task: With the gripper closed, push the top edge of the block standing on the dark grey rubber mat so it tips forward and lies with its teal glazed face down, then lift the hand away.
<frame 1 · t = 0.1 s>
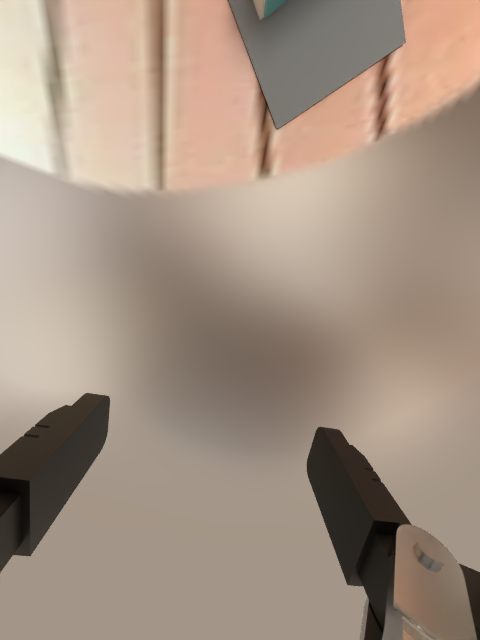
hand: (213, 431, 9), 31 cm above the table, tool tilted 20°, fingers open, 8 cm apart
mat: (312, 0, 23), on the table
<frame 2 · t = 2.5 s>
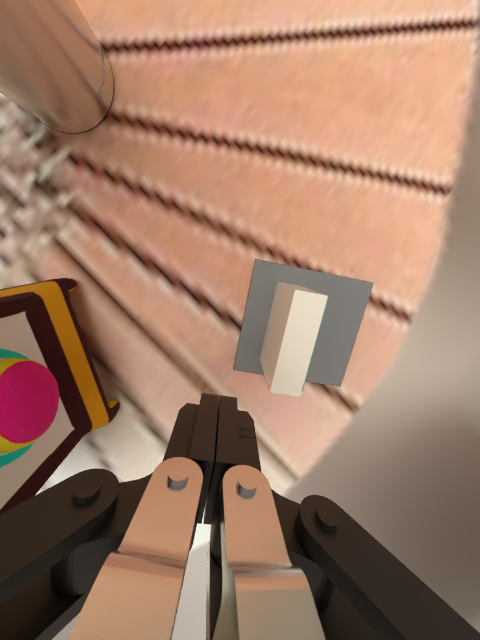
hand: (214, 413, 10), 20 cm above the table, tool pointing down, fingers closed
mat: (300, 326, 31), on the table
block: (279, 323, 30), resting on mat
decorative lantern: (35, 358, 31), on the table
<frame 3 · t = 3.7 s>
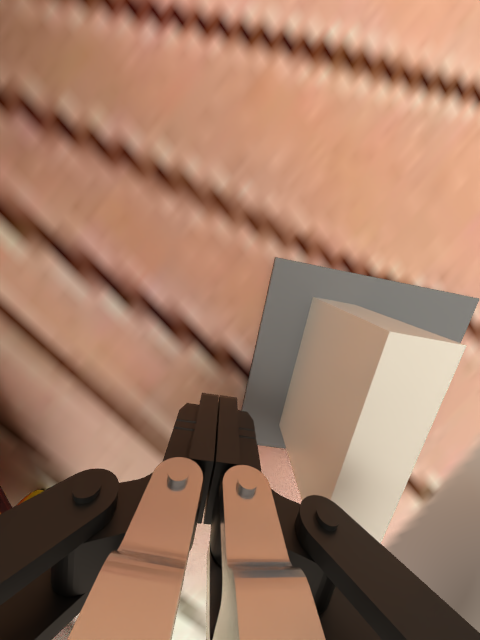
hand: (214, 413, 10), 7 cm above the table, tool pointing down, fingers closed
mat: (348, 371, 18), on the table
block: (314, 368, 18), resting on mat
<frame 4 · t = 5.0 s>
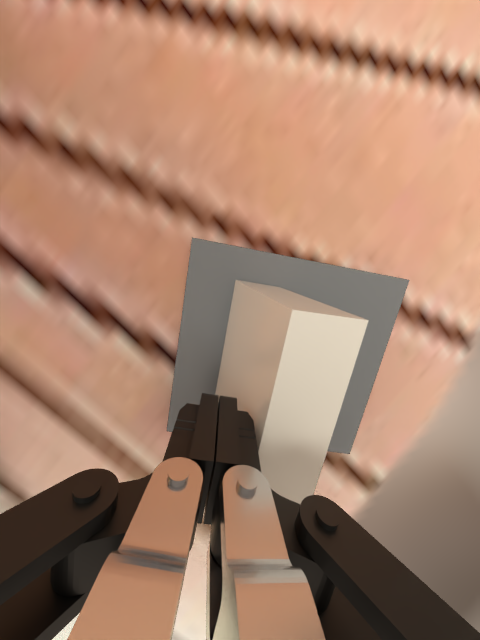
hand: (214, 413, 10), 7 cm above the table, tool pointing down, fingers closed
mat: (279, 357, 18), on the table
block: (243, 355, 17), point 1 cm above the table, tilted 12°, touching mat
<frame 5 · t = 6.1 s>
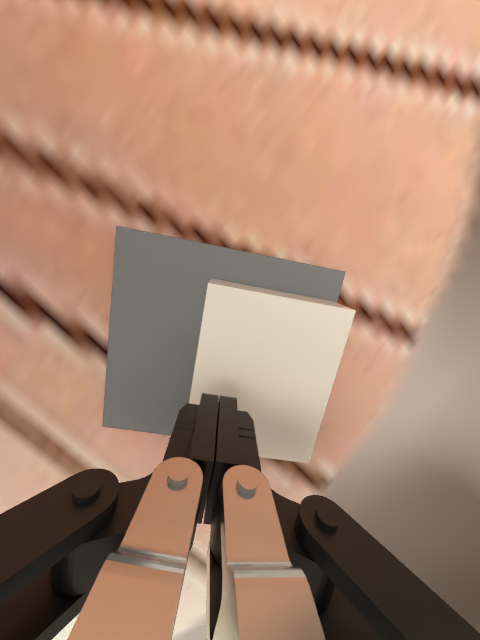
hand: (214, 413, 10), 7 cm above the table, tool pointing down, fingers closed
mat: (217, 351, 17), on the table
block: (197, 361, 15), point 2 cm above the table, tilted 90°, touching mat
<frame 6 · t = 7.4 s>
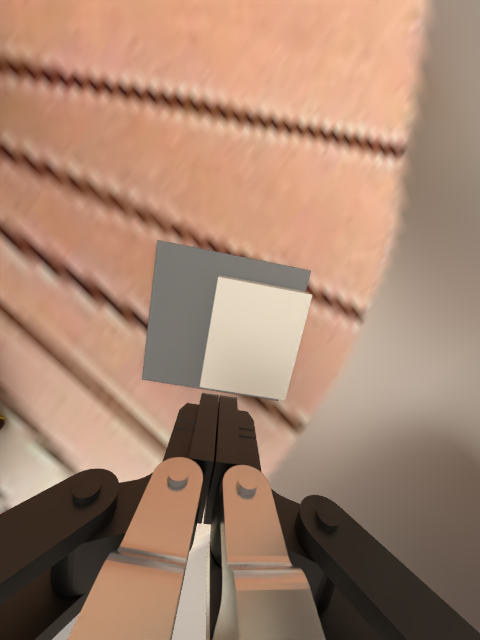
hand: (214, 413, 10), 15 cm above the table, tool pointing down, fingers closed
mat: (223, 326, 25), on the table
block: (209, 330, 23), point 2 cm above the table, tilted 90°, touching mat
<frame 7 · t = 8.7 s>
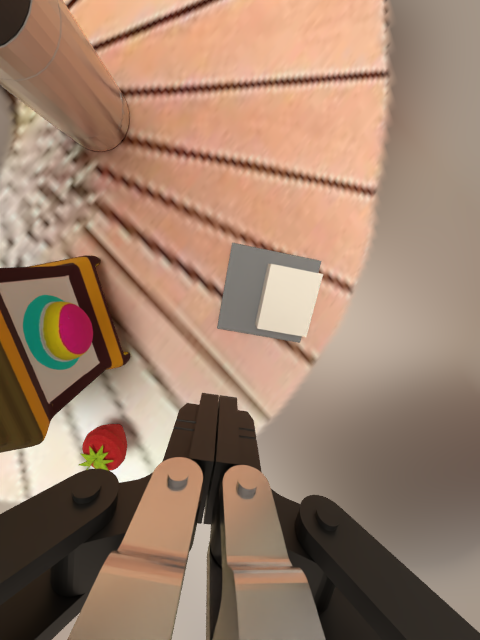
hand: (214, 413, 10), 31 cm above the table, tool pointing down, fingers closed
mat: (267, 295, 41), on the table
block: (262, 295, 38), point 2 cm above the table, tilted 90°, touching mat
decorative lantern: (67, 318, 40), on the table
strawberry: (120, 426, 46), on the table
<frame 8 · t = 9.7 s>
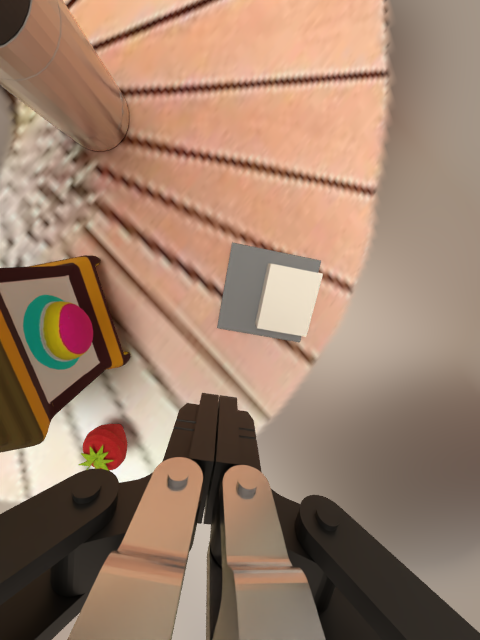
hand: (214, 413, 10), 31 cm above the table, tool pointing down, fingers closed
mat: (267, 294, 41), on the table
block: (262, 295, 38), point 2 cm above the table, tilted 90°, touching mat
decorative lantern: (67, 318, 40), on the table
strawberry: (120, 425, 46), on the table
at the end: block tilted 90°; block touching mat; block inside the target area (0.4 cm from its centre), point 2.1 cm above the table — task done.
